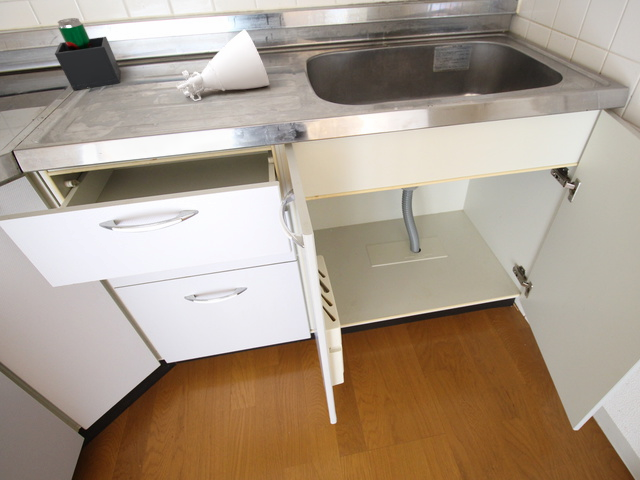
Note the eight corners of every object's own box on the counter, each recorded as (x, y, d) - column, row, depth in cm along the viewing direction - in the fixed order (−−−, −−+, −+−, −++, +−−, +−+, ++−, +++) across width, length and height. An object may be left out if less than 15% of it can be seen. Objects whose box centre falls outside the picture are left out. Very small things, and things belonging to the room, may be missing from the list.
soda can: (104, 77, 95) (79, 21, 87) (81, 81, 94) (53, 24, 85) (106, 71, 98) (81, 16, 90) (84, 75, 97) (57, 19, 89)
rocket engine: (157, 53, 77) (241, 17, 79) (174, 77, 88) (247, 46, 91) (186, 107, 78) (267, 71, 80) (199, 125, 90) (270, 93, 92)
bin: (73, 90, 92) (54, 53, 87) (77, 77, 99) (60, 42, 94) (119, 83, 95) (104, 46, 89) (120, 71, 102) (106, 36, 96)
